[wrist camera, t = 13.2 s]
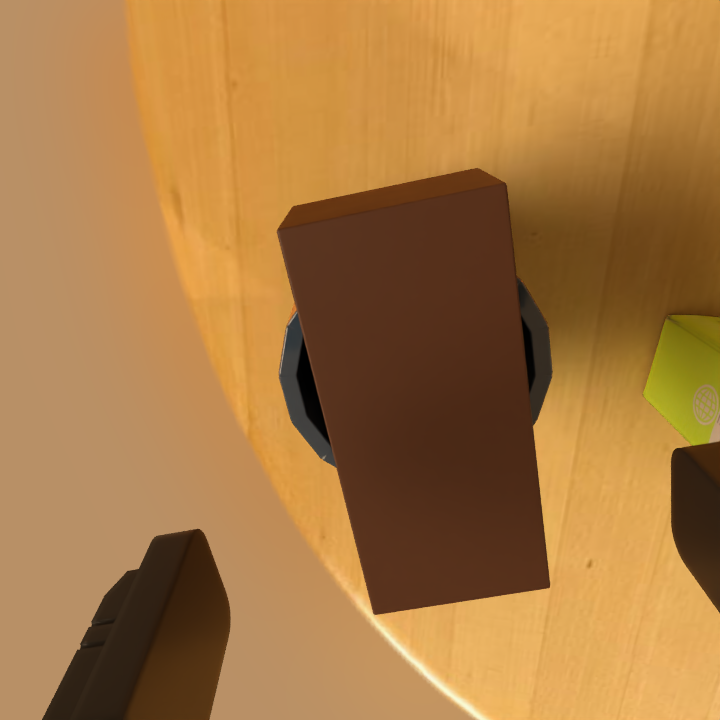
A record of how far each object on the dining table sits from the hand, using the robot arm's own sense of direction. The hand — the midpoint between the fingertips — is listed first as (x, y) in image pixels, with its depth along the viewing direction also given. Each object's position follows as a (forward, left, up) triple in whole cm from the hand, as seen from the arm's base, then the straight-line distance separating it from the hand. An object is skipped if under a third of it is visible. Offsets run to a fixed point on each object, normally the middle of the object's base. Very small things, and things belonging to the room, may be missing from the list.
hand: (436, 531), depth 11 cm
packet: (0, 0, -6) cm, 6 cm away
